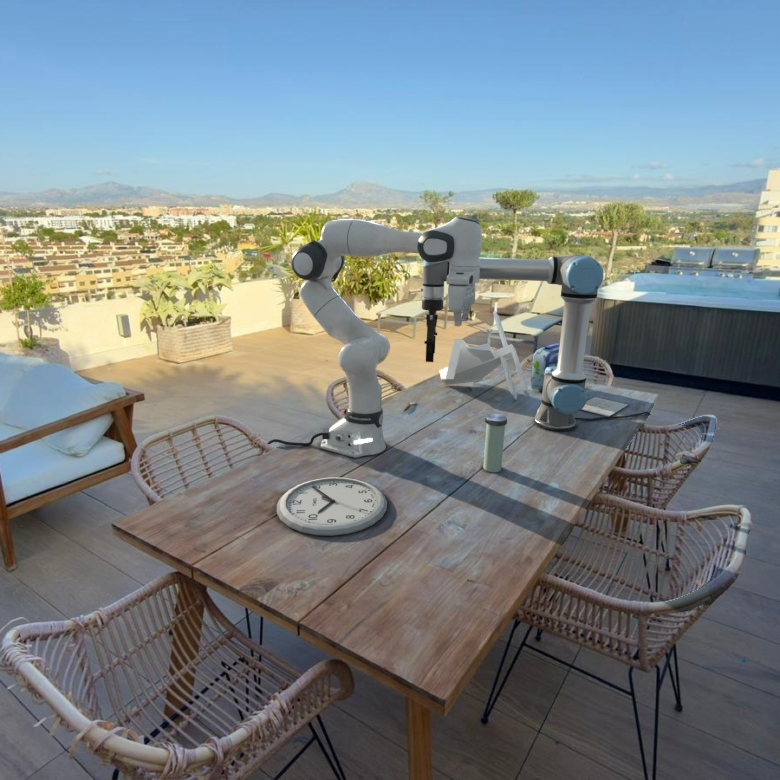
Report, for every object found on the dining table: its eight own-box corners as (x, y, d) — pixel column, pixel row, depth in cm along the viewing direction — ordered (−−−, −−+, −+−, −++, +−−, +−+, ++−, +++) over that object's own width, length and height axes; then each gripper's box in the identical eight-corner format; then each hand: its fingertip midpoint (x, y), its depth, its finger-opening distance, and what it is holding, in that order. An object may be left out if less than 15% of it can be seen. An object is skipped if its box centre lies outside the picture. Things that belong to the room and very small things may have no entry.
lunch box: (547, 395, 239) (552, 351, 233) (526, 390, 247) (530, 347, 240) (574, 384, 257) (579, 343, 251) (554, 380, 264) (558, 339, 258)
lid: (508, 426, 159) (509, 421, 158) (486, 426, 159) (487, 421, 158) (504, 418, 165) (505, 414, 164) (483, 418, 165) (484, 413, 165)
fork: (400, 412, 215) (400, 407, 215) (412, 400, 229) (412, 396, 229) (406, 412, 214) (406, 408, 214) (418, 401, 229) (418, 397, 228)
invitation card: (608, 416, 214) (573, 407, 224) (608, 416, 214) (573, 408, 224) (628, 404, 229) (594, 396, 238) (628, 405, 229) (594, 397, 238)
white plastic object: (461, 429, 252) (437, 405, 227) (444, 352, 274) (420, 323, 250) (535, 404, 240) (518, 377, 215) (510, 326, 262) (492, 293, 237)
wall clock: (392, 527, 129) (268, 531, 127) (391, 533, 130) (269, 537, 127) (383, 473, 158) (282, 475, 155) (383, 478, 158) (282, 480, 156)
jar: (502, 472, 164) (507, 422, 159) (484, 472, 164) (488, 421, 159) (499, 464, 169) (503, 415, 164) (482, 464, 169) (485, 415, 164)
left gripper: (461, 272, 162) (458, 317, 166) (444, 278, 143) (442, 328, 147) (481, 273, 160) (478, 318, 164) (467, 279, 141) (464, 330, 145)
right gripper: (424, 293, 195) (422, 349, 202) (419, 302, 172) (417, 365, 178) (444, 294, 195) (441, 350, 201) (442, 303, 171) (439, 366, 177)
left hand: (461, 323), depth 155 cm, fingers open, 8 cm apart
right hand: (430, 357), depth 190 cm, fingers open, 13 cm apart
